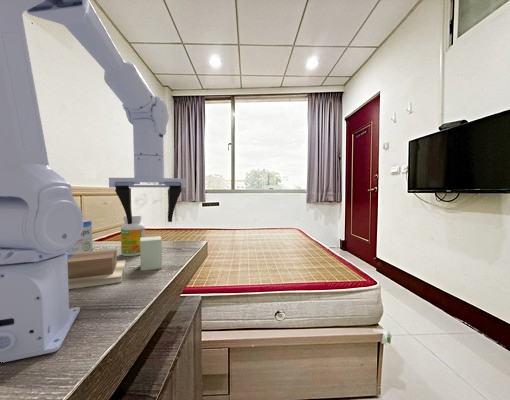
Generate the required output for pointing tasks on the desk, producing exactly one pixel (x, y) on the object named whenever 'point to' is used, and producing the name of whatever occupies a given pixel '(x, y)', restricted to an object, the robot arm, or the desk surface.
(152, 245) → the sage pillar
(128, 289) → the desk surface
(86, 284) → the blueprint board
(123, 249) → the supplement bottle
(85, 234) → the medicine box
